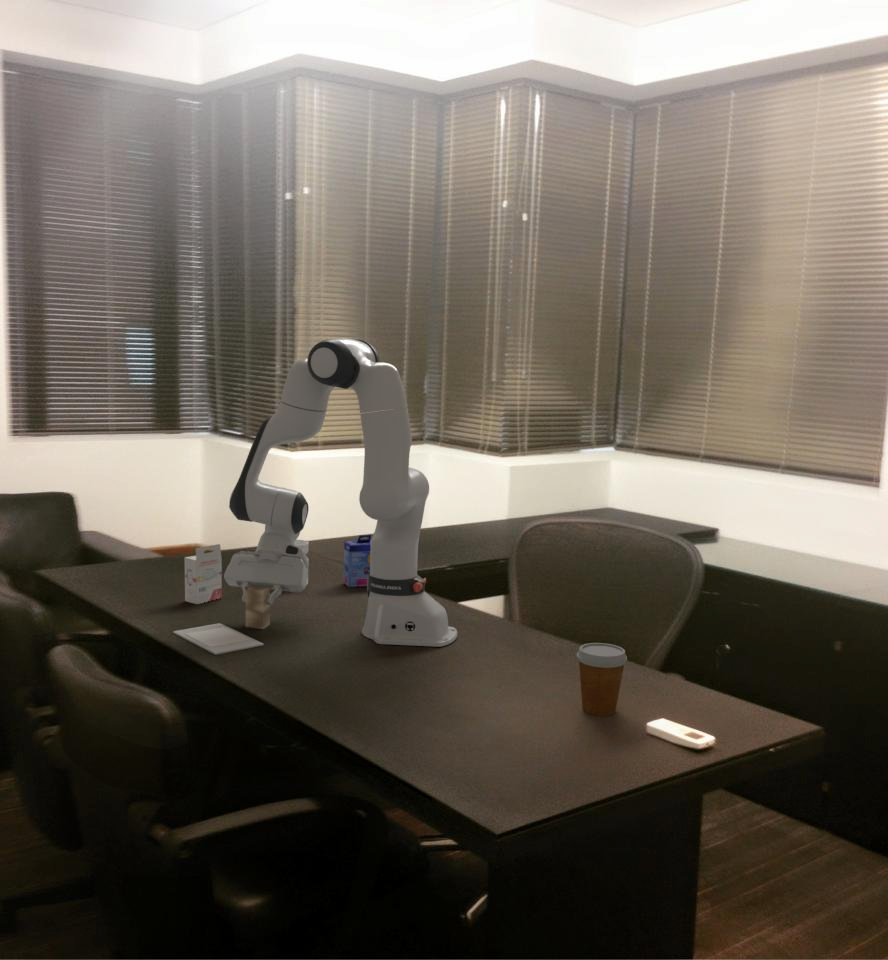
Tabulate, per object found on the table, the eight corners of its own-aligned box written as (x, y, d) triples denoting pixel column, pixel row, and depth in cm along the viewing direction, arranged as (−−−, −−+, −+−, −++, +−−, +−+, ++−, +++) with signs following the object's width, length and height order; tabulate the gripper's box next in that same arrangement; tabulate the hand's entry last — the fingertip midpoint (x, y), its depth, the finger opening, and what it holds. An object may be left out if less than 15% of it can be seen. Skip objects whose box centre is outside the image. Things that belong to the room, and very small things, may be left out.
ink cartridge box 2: (348, 588, 283) (349, 536, 281) (342, 583, 288) (343, 533, 286) (381, 585, 288) (383, 534, 286) (374, 580, 292) (376, 531, 290)
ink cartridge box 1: (209, 595, 271) (209, 540, 269) (222, 598, 268) (222, 543, 266) (183, 601, 264) (183, 545, 262) (196, 604, 261) (196, 548, 259)
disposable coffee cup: (590, 697, 202) (593, 639, 200) (633, 710, 196) (636, 649, 194) (564, 710, 195) (567, 649, 193) (607, 723, 189) (611, 660, 187)
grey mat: (173, 633, 236) (173, 630, 236) (219, 624, 244) (219, 622, 244) (215, 654, 221) (215, 652, 221) (263, 645, 229) (263, 642, 229)
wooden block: (269, 624, 245) (270, 588, 244) (263, 628, 241) (263, 591, 240) (252, 622, 246) (252, 586, 245) (245, 627, 243) (245, 590, 241)
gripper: (230, 543, 251) (212, 591, 242) (308, 550, 246) (292, 599, 238) (238, 557, 255) (220, 605, 247) (315, 564, 251) (299, 613, 243)
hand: (256, 602), depth 242 cm, fingers closed on wooden block, 4 cm apart
